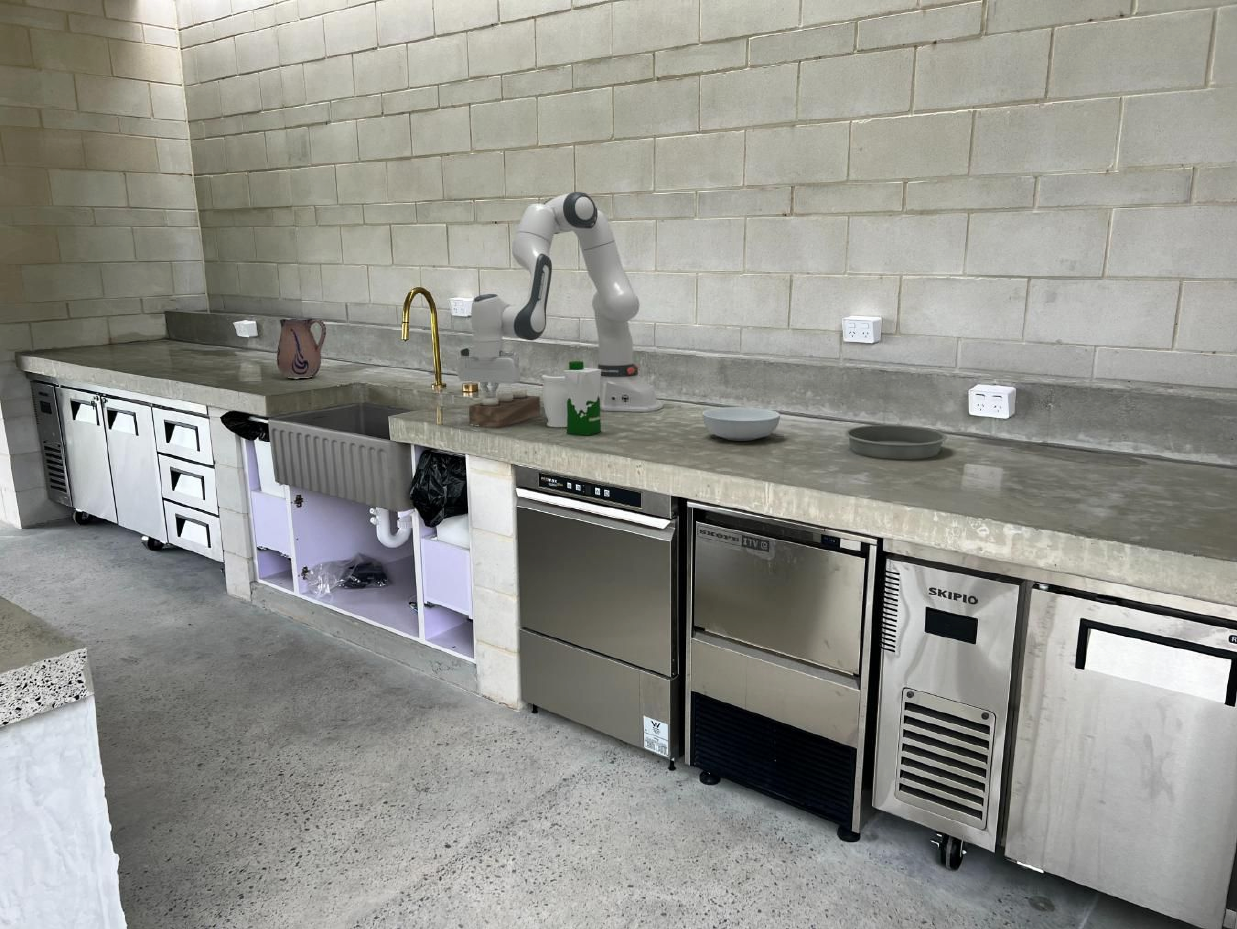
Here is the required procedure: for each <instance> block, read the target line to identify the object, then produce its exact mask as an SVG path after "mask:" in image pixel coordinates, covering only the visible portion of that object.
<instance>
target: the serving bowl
mask: <svg viewBox="0 0 1237 929" xmlns="http://www.w3.org/2000/svg"><path fill="white" fill-rule="evenodd" d="M701 414H702V420H703V423H704V426H705V428H706V429H707V430H708V431H709V432H710V433H711V434H713V435H715V436H717V437H720V438H723V439H725V440H728V441H737V442H743V441H744V442H747V441H754V440H757V439H761V438H764V437H768V436H769V435H771V434H772V433H773V432H774V431H775V430H776V429H777V427H778V426H779V422H780V418H781V414H780V412H777V411H775V410H772V409H766V408H760V407H759V408H758V407H746V406H745V407H744V406H736V407H735V406H731V407H730V406H729V407H716V408H712V409H711V408H710V409H706V410H704V411H703V412H702V413H701Z"/></svg>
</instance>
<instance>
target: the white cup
mask: <svg viewBox="0 0 1237 929" xmlns="http://www.w3.org/2000/svg"><path fill="white" fill-rule="evenodd" d="M541 379H542V381H543V385H542V392H541V393H542V394H541V395H542V396H541V397H542V403H543V407H544V413H545V417H546V418H547V419H548V421H547V423H546V426H547V427H550V428H567V385H566V380H565V375H564V372H562V373H561V372H560V373H559V372H558V373H555V372H554V373H547V374H543V375H541Z"/></svg>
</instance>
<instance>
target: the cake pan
mask: <svg viewBox="0 0 1237 929" xmlns="http://www.w3.org/2000/svg"><path fill="white" fill-rule="evenodd" d="M844 435H845V436H846V437H847V438H848V439H849V446H850V449H851V451H852V452H854V453H856V454H859V455H862V456H866V457H871V458H872V457H873V458H878V459H891V460H893V459H894V460H915V459H918V460H919V459H925V458H927V459H928V458H931V457H932V458H933V457H934V456H938V454H939V453H940V450H941V447H942V445H943V442H945V441H946V440H947V439H948V436H947V435H946V434H945V433H944V432H942V431H938V430H934V429H932V428H931V429H930V428H926V427H920V426H911V425H910V426H909V425H901V424H900V425H899V424H898V425H895V424H893V425H892V424H876V425H862V426H856V427H852V428H849V429H847V430H846V431H845V432H844Z"/></svg>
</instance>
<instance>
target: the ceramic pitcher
mask: <svg viewBox="0 0 1237 929" xmlns="http://www.w3.org/2000/svg"><path fill="white" fill-rule="evenodd" d="M279 323H280V327H281V328H280V337H279V342H278V347H277V353H276V363H277V364H276V365H277V367H278V370H279V371H280V373H281V374H282V375H283V377H285V378H287V377H310V376H314V377H315V376H316V375H317V374H318V373H319V371H320V369H321V365H322V354H321V352H322V348H323V345H324V342H325V339H326V335H327V328H326V325H325V322H323V321H322V320H321V319H317V318H310V317H309V318H302V317H301V318H299V317H298V318H290V319H287V318H281V319H279ZM314 324H319V326H320V328H321V336H320V338H319V341H318V343H317V342H316V339H315V337H314V334H313V332H312V330H311V329H312V326H313V325H314Z"/></svg>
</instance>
